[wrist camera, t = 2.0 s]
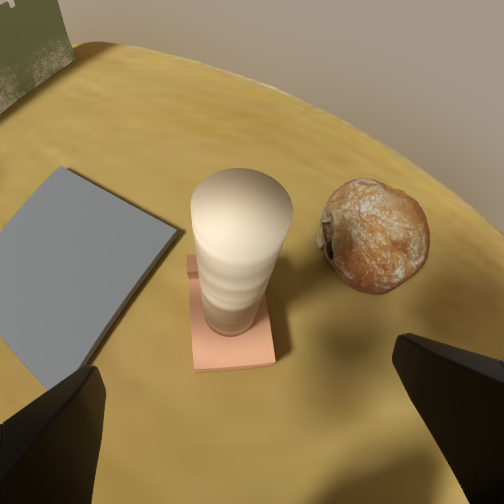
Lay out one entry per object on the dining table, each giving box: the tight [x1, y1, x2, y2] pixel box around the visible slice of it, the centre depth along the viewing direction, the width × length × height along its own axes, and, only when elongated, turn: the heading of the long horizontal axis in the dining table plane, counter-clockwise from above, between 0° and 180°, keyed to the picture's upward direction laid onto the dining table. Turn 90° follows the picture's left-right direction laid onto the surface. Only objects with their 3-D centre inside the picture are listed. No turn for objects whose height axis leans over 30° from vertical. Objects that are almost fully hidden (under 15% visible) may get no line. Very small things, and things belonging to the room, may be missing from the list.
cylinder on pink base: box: [187, 168, 293, 373], centre depth 15 cm, size 7×5×13 cm
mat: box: [0, 166, 178, 390], centre depth 20 cm, size 16×16×1 cm
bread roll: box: [316, 178, 430, 295], centre depth 23 cm, size 10×10×8 cm
